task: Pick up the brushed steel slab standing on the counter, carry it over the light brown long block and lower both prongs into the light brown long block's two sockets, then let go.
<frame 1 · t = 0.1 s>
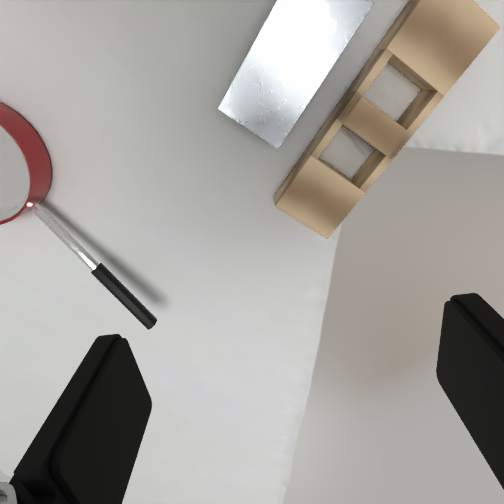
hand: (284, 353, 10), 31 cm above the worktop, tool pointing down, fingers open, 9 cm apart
frying pan: (70, 211, 42), on the worktop
light brown long block: (364, 122, 36), on the worktop
brushed steel slab: (284, 62, 34), on the worktop
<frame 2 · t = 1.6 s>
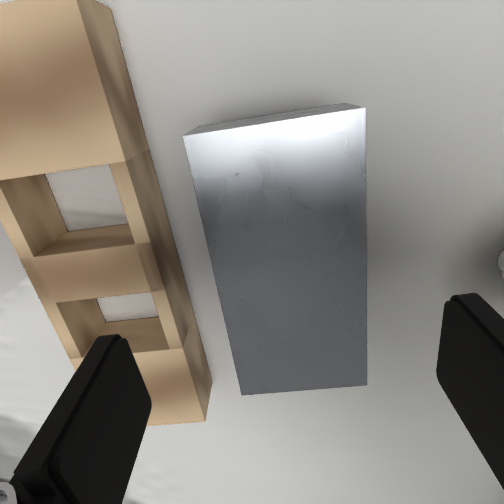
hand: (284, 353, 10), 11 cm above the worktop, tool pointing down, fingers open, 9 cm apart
light brown long block: (118, 247, 21), on the worktop
brushed steel slab: (283, 226, 20), on the worktop
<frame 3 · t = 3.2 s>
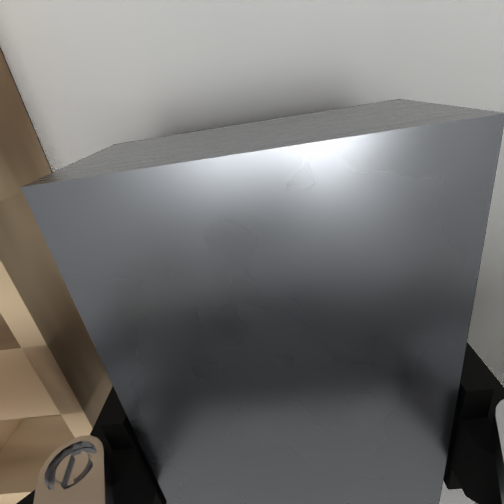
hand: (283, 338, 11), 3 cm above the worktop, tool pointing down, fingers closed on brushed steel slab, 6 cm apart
light brown long block: (25, 322, 14), on the worktop
brushed steel slab: (278, 291, 13), on the worktop, touching gripper
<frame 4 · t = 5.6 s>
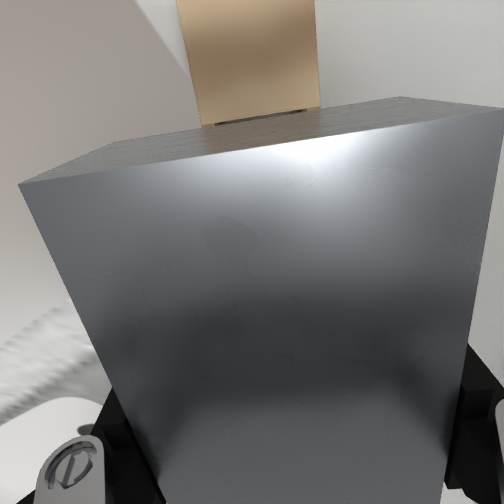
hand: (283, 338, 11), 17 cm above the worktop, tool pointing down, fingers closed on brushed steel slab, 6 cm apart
light brown long block: (270, 188, 26), on the worktop
brushed steel slab: (278, 290, 13), point 14 cm above the worktop, touching gripper
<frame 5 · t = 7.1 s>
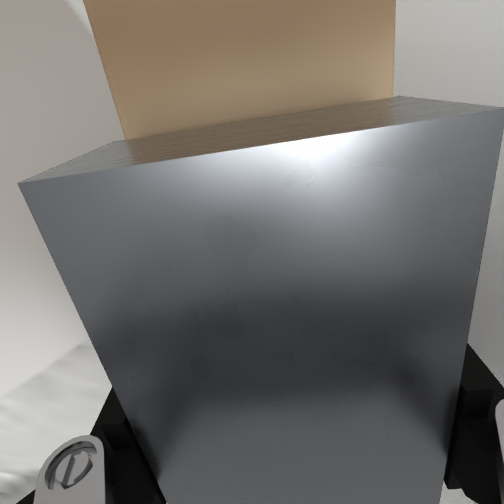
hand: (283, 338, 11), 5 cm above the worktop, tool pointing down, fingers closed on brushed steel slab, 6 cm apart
light brown long block: (276, 264, 15), on the worktop
brushed steel slab: (277, 289, 13), point 2 cm above the worktop, touching gripper
when the fingers open (4 cm above the worktop, at t = 8.0 s): brushed steel slab drops 1 cm, resting on light brown long block.
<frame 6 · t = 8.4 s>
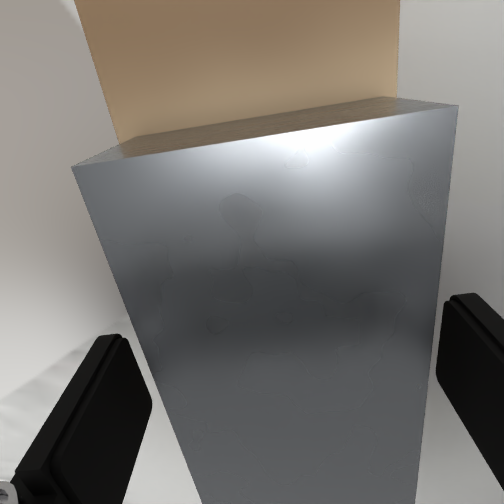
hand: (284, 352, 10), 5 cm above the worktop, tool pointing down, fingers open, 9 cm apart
light brown long block: (275, 268, 15), on the worktop
brushed steel slab: (278, 274, 14), resting on light brown long block
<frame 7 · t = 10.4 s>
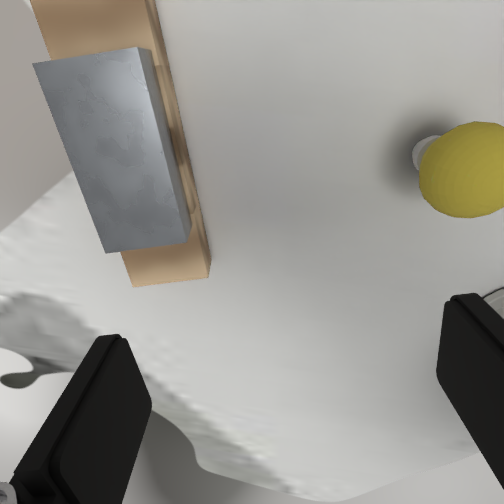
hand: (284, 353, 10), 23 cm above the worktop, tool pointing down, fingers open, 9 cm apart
light bulb: (424, 151, 30), on the worktop
light brown long block: (144, 144, 29), on the worktop
brushed steel slab: (143, 145, 29), resting on light brown long block
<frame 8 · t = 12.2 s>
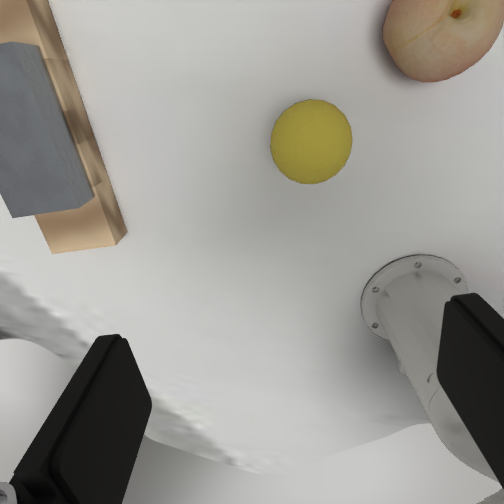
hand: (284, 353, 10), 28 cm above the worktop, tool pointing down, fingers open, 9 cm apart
light bulb: (300, 132, 34), on the worktop
light brown long block: (55, 128, 34), on the worktop
brushed steel slab: (54, 129, 34), resting on light brown long block
fruit: (416, 31, 30), on the worktop
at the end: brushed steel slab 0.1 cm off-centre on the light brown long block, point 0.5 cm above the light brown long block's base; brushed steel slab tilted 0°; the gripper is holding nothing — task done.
